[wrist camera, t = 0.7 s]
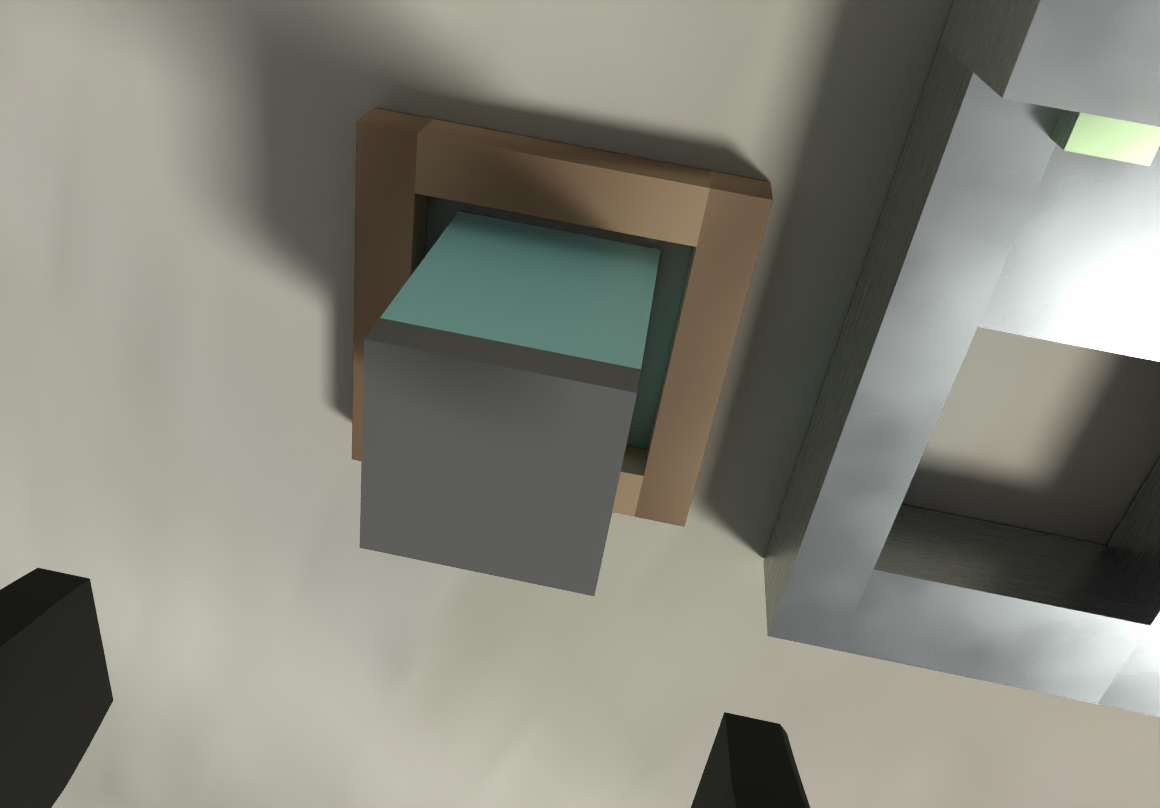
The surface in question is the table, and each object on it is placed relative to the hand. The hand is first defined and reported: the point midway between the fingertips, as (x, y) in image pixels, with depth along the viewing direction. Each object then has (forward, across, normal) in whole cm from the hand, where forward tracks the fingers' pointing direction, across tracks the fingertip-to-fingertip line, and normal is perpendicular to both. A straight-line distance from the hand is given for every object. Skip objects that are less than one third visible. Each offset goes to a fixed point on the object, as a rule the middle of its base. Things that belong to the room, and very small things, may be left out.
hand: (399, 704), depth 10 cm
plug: (+10, 0, 0) cm, 10 cm away
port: (+10, -10, -2) cm, 14 cm away
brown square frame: (+10, 0, 0) cm, 10 cm away
